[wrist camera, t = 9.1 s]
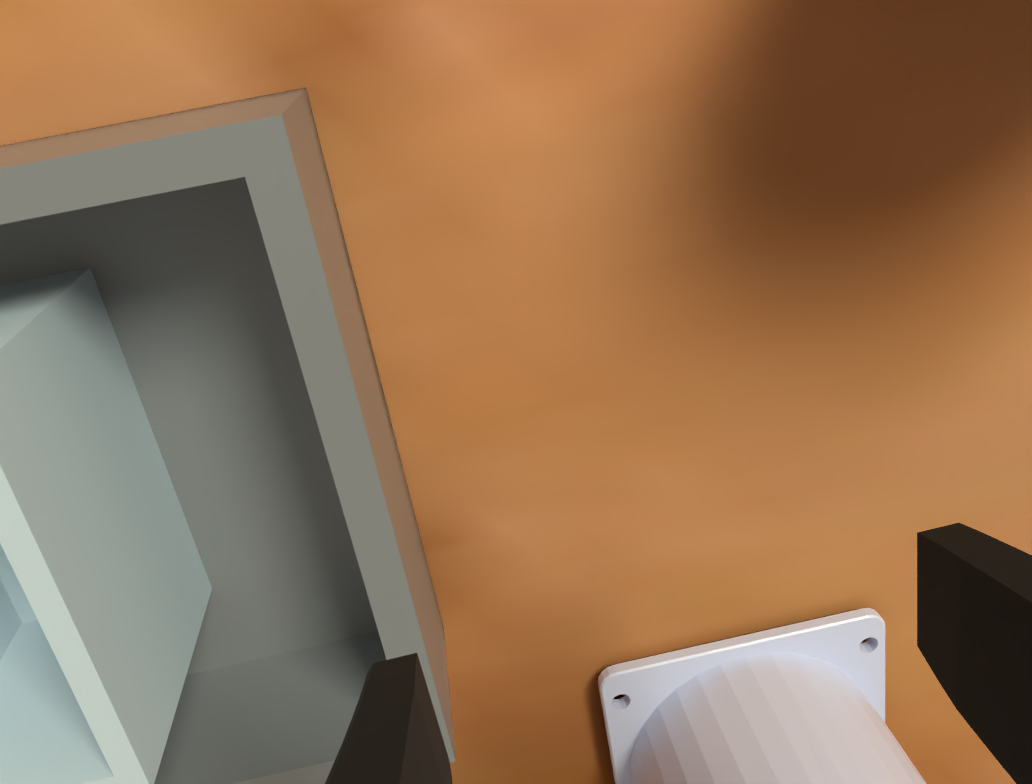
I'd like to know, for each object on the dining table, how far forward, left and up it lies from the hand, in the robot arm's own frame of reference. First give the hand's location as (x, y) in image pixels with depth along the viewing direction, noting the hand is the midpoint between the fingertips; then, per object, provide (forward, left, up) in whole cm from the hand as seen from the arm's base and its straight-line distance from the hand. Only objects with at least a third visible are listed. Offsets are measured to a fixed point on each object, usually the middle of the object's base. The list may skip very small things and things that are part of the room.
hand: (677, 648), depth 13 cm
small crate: (+1, +11, -9) cm, 14 cm away
